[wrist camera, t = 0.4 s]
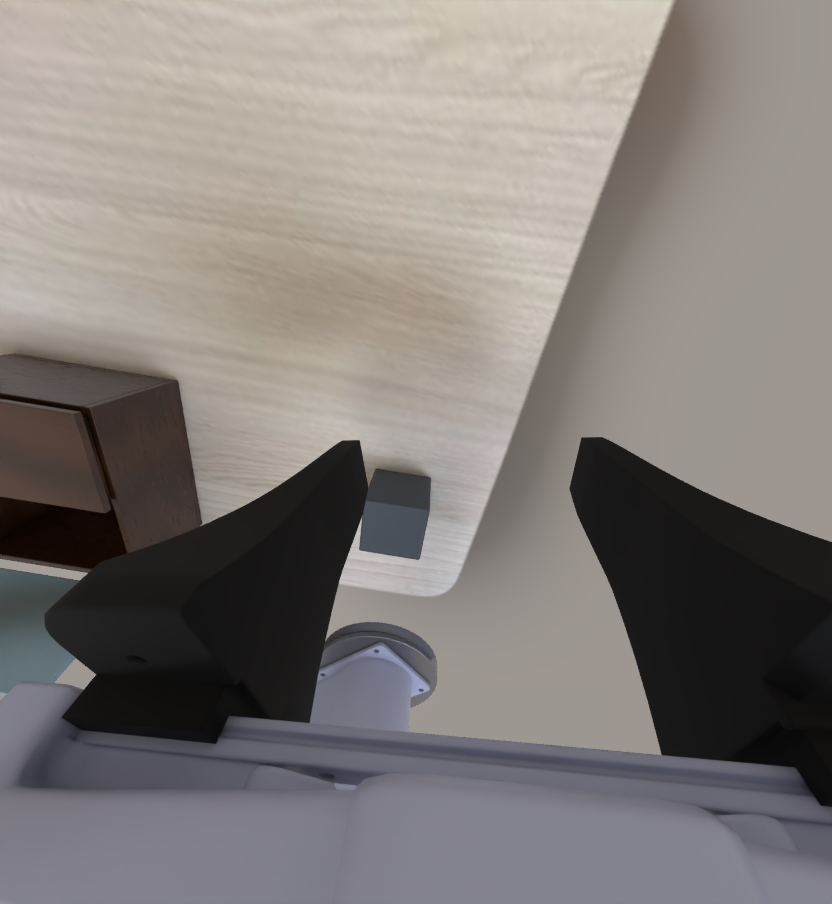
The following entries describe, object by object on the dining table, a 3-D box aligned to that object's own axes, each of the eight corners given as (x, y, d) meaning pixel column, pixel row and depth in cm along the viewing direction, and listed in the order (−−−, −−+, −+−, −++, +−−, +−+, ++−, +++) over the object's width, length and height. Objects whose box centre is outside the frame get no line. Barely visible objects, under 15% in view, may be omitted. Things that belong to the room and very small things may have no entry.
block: (422, 522, 25) (419, 560, 21) (370, 514, 25) (358, 550, 21) (431, 477, 23) (429, 510, 19) (375, 468, 23) (363, 499, 19)
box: (201, 524, 26) (131, 591, 20) (69, 503, 26) (-42, 564, 20) (177, 380, 21) (73, 412, 15) (13, 353, 21) (-158, 375, 15)
